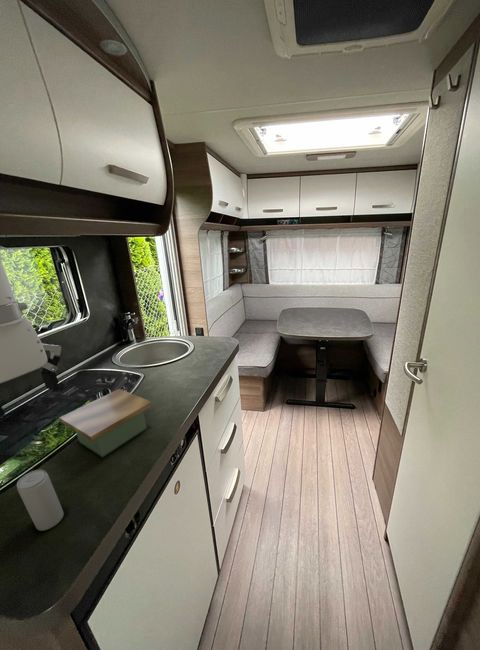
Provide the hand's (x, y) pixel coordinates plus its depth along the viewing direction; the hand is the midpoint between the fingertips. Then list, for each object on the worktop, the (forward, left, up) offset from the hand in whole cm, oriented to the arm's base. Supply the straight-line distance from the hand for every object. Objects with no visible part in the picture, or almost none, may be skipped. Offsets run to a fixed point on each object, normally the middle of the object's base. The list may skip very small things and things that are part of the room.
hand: (27, 401), depth 54 cm
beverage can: (+3, -5, -26) cm, 27 cm away
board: (-11, +18, -18) cm, 28 cm away
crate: (-11, +18, -26) cm, 34 cm away
